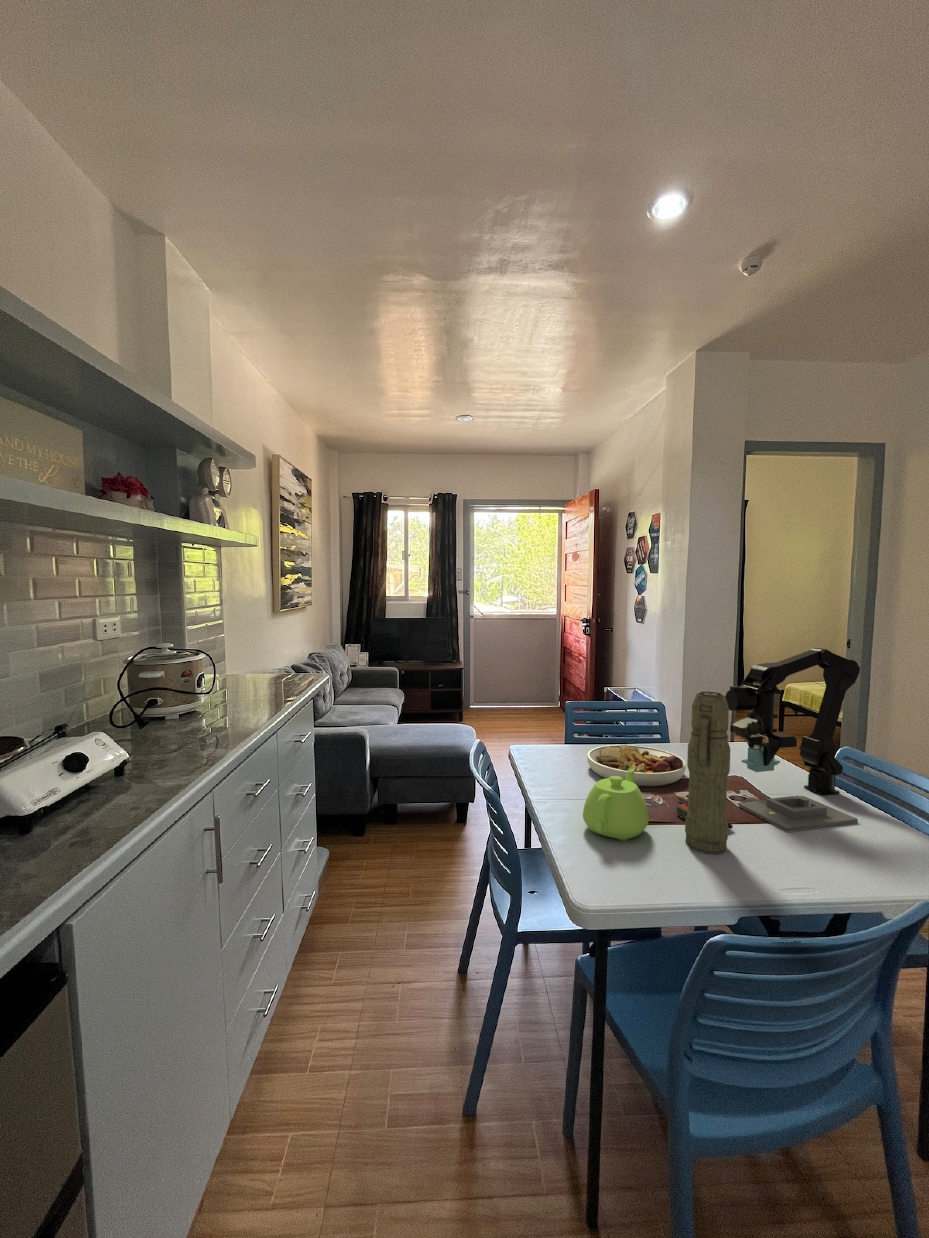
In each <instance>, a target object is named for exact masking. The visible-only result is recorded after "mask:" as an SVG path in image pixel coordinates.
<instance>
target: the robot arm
mask: <svg viewBox="0 0 929 1238" xmlns="http://www.w3.org/2000/svg"><path fill="white" fill-rule="evenodd" d="M815 666H817V667H819V668H820V669H823V672H822V678H823V679H824V683H825V688H824V693H823V696H822V700H821V702H820V706H819V709H818V710H819V711H818V713H817V717H816V720H815V723H814V727H813V731H812V733H811V734H809V735H808V736H805V735H804V736H803V737H802V739H801V743H800V745H799V747H798V750H799V755H800V758H801V760H802V761H803V765H804V766H805V767H808V768H809V769H808V776H807V777H808V779H807V784H806V785H804V786H803V788H804V789H806V790H808V791H812V792H813V793H816V794H819V795H821V796H826V795H827V796H828V795H836V794H840V793H841V792H840V791H839V790H837V789H836V776H838V775H841V774H842V772H843V770H844V766H843V765H842V764H841V763H840V762H839V760H838V759H836V753H837V752H836V751H837V749H836V748H837V747H836V744H835V743H834V734H835V731H836V728H837V724H838V720H839V718H840V715H841V714H840V713H841V710H842V706H843V703H844V699H845V696H846V694H847V690H849V689H850V688H851V687H852V686H853V685H855V683H856V682H857V679H858V676H859V674H860V671H861V667H860V666H859V664H858V662H857V661H856V660H854V659H849V658H845V657H843V656H841V655H838V654H836V653H833V652H832V651H831V650H829V649H827V648H821V647H812V648H810V649H809V650H807V651H804V652H801V653H799V654H796V655H793V656H790V657H788V658H785V659H783V660H780V661H776V662H763V663H757V664H753V665H752V666H751V667H750V670H749V672H748V674H747V675H746V677H744V679H743V681H742V682H741V684H739V686H735V685H731V686H729V690H727V692H726V693H725V695H724V696H725V697H726V700H727V704H728V707H729V711H734V712H735V711H747V713H746V717H745V718H741V719H740V720H738V721H733V722H732V723H730V726H729V727H730V728H729V729H730V731H729V732H731V733H734V734H735V736H739V737H740V738H741V739H743V740H744V741H745V742H746V743H747V746H748V748H750V747H754V745H759V746H760V747H763V748H764V766H768V765H769V764H770V762H771V760H772V759H773V757H774V756H775V755H776V754H777V752H779V750H780V749H786V748H787V749H788V748H796V747H797V746H798V739H797V738H796V736H794V735H791V734H788V733H785V732H782V733H781V732H780V733H778V728H775V727H774V725H775V719H778V718H779V716H778V714H777V713H775V705H776V701H775V700H776V695H782V694H783V691H782V690H781V689H779V688H778V686H779V685H780V684H782V683H784V681H785V680H786V678H788V677H789V676H792V675H795V674H797V673H800V672H802V671H806V670H808V669H810V668H813V667H815ZM764 739H765V741H764V742H763V740H764Z"/></svg>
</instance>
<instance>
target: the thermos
mask: <svg viewBox="0 0 929 1238" xmlns="http://www.w3.org/2000/svg"><path fill="white" fill-rule="evenodd" d="M725 696H726V695H724V694H722V693H720V692H716V691H699V692H697V693H695V696H694V699H693V700H692V704H691V725H690V727H691V731H690V739H689V741H688V743H687V761H686V762H687V763H686V768H687V769H688V772H689V773H688V799H687V800H688V814H687V816H686V818H685V822H684V823H685V824H684V832H685V844H686V846H687V847H688V848H690V849H691V850H694V851H695V852H699V853H701V852H703V853H702V854H706V855H721V853H722V854H725V852H727V850H728V849H727V847H728V846H727V841H728V838H729V829H728V823H729V821H727V820H728V817H727V791H728V790H727V789H728V776H729V774H730V771H731V770H730V769H731V768H730V767H731V746H730V744H729V739H728V738H729V736H728V731H729V715H730V714H729V712H730V710H729V707H728V704H727V700H726V697H725ZM726 849H727V850H726Z"/></svg>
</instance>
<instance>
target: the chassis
mask: <svg viewBox="0 0 929 1238" xmlns="http://www.w3.org/2000/svg"><path fill="white" fill-rule="evenodd" d="M738 805H739V806H740V807H741V808H744V809H746V810H747V811H750V812H752V813H753V814H756V815H758V816H760V817H761V818H763V819H765V820H766V821H768V822H770V823H769V824H770V825H772V826H775V827H776V828H778V829H780V830H782V831H784V832H786V833H790V832H796V831H797V832H798V831H806V830H811V829H812V830H813V829H819V828H827V827H834V826H835V827H836V826H842V825H844V826H845V825H848V824H849V825H850V824H856V823H858V820H859V819H858V818H857V817H854V816H851V815H850V814H847V813H845V812H843V811H840V810H838V809H835V808H833V807H831V806H828V805H826V804H824V803H821V802H820V801H819V802H818V800H817V801H816V800H814V799H812V798H809V797H807V796H805V795H792V796H783V797H773V798H767V799H765V800H764V799H763V800H755V801H747V802H738V803H737V806H738ZM741 808H740V809H741ZM747 811H746V812H747ZM753 814H752V815H753ZM761 818H760V819H761ZM763 819H762V820H763ZM766 821H765V822H766ZM768 822H767V823H768Z"/></svg>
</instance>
